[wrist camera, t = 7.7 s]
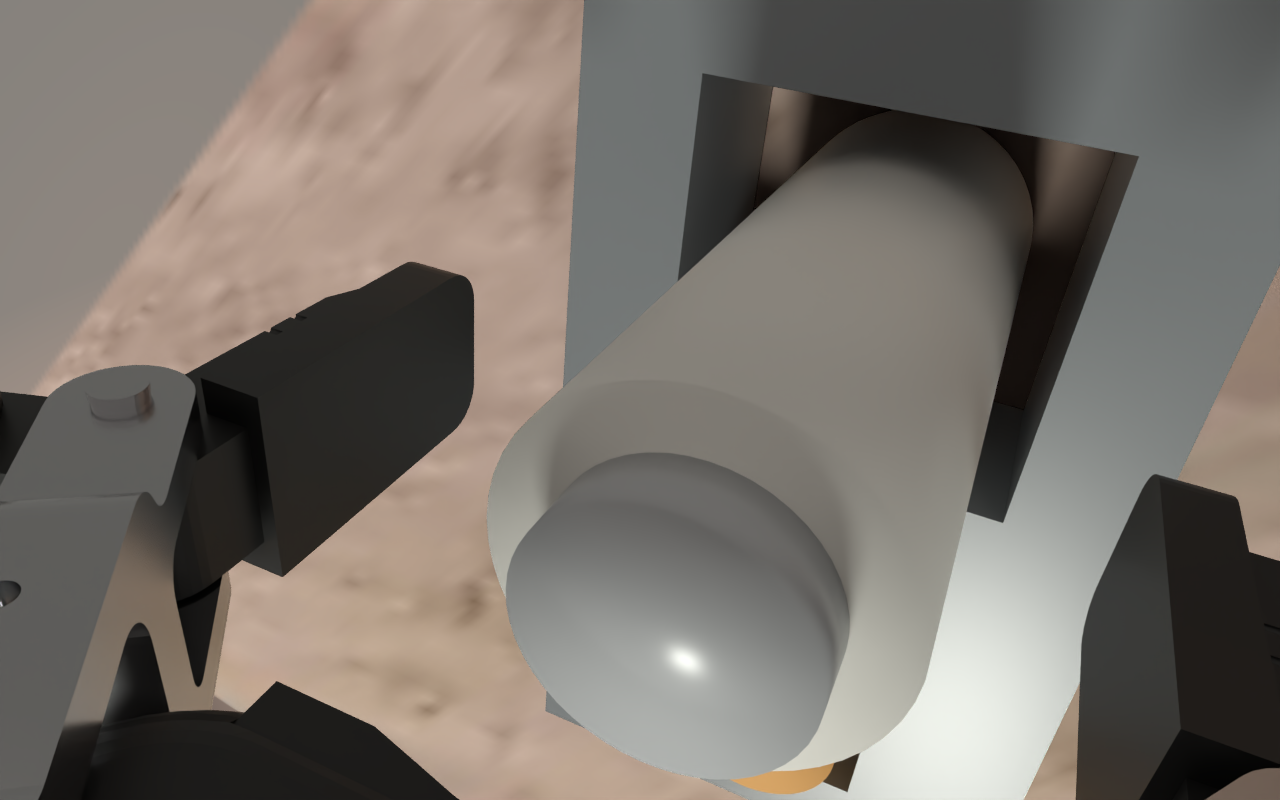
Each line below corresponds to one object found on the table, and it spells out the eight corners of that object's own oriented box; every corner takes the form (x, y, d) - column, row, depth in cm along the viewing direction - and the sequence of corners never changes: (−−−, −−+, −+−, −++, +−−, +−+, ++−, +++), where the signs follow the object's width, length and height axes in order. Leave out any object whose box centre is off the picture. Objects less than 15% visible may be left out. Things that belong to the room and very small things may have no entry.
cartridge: (1067, 136, 16) (986, 535, 6) (993, 362, 18) (851, 907, 9) (815, 88, 17) (435, 358, 8) (775, 305, 20) (445, 721, 10)
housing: (1334, -20, 14) (1400, 14, 10) (996, 752, 22) (976, 899, 19) (691, -103, 17) (588, -96, 13) (617, 606, 25) (545, 711, 22)
